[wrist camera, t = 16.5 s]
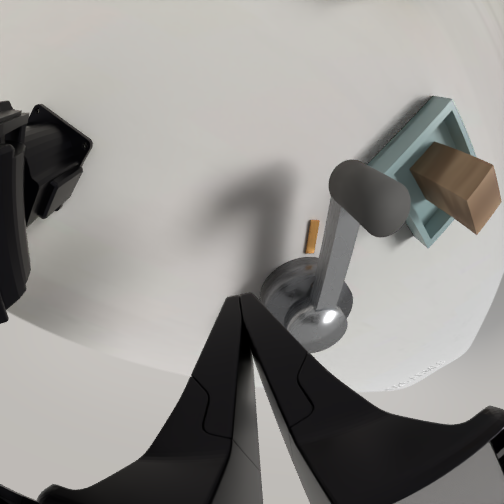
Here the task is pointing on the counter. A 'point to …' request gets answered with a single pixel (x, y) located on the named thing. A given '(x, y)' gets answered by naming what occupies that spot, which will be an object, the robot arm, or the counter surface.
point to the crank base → (297, 282)
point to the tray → (411, 149)
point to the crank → (345, 247)
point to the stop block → (458, 184)
